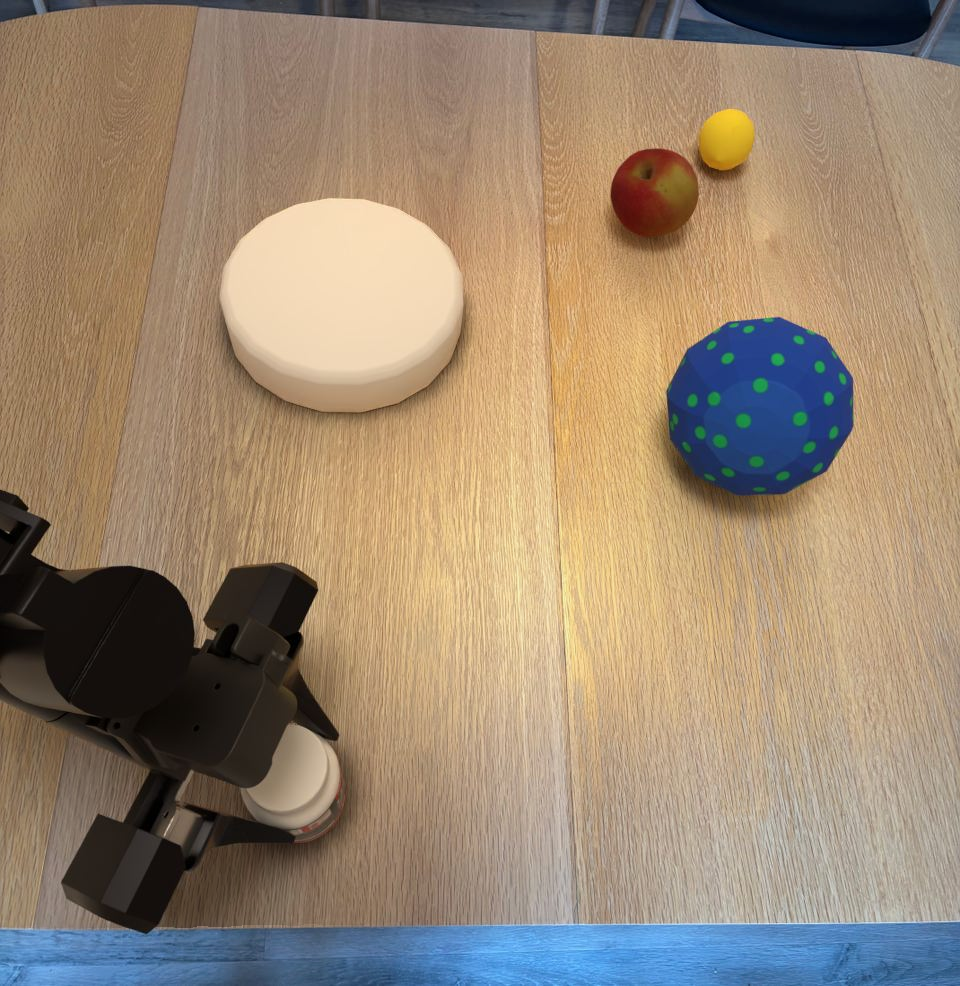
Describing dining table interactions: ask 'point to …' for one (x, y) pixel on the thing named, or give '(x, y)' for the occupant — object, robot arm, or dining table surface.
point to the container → (342, 304)
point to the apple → (654, 192)
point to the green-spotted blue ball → (760, 406)
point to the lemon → (726, 139)
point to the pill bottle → (299, 786)
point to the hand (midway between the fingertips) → (313, 787)
